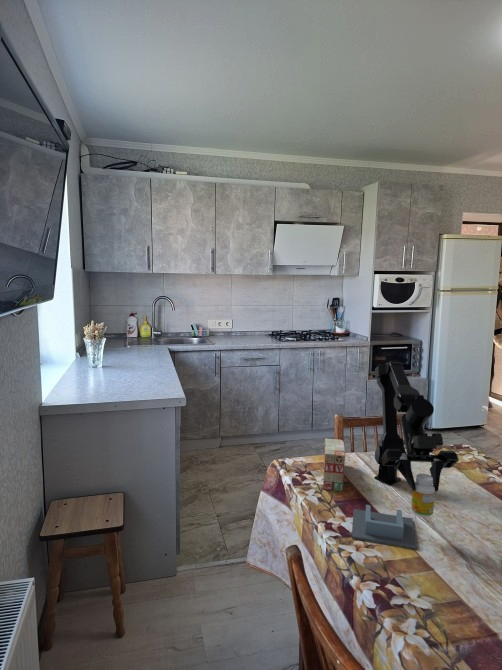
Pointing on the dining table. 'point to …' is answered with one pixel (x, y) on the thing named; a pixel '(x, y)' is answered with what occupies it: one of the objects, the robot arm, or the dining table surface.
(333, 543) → the dining table surface
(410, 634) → the dining table surface
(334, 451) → the stack of blocks
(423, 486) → the supplement bottle
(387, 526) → the notch holder
